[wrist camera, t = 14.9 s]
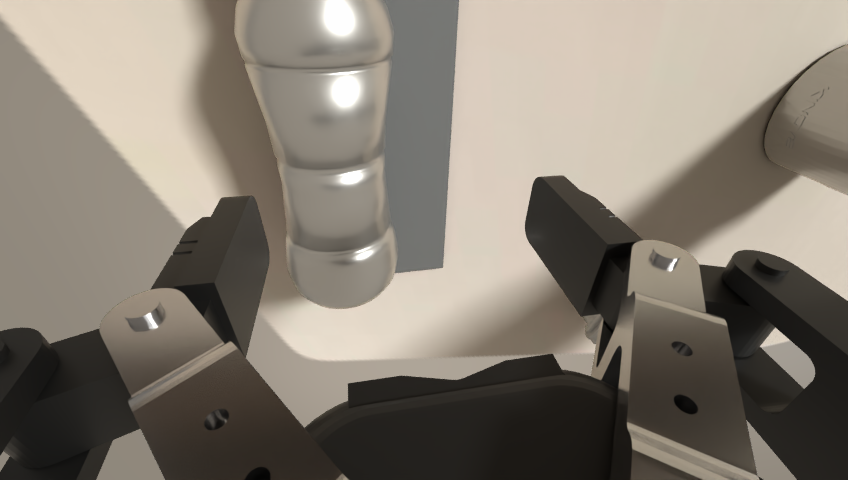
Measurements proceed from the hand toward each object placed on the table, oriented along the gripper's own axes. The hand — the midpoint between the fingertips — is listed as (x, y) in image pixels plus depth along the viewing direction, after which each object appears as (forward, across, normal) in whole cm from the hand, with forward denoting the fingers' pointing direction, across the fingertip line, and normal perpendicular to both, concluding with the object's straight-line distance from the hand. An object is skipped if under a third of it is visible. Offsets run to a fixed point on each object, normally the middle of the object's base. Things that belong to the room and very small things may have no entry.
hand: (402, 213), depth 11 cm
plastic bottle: (+10, +2, +11) cm, 15 cm away
